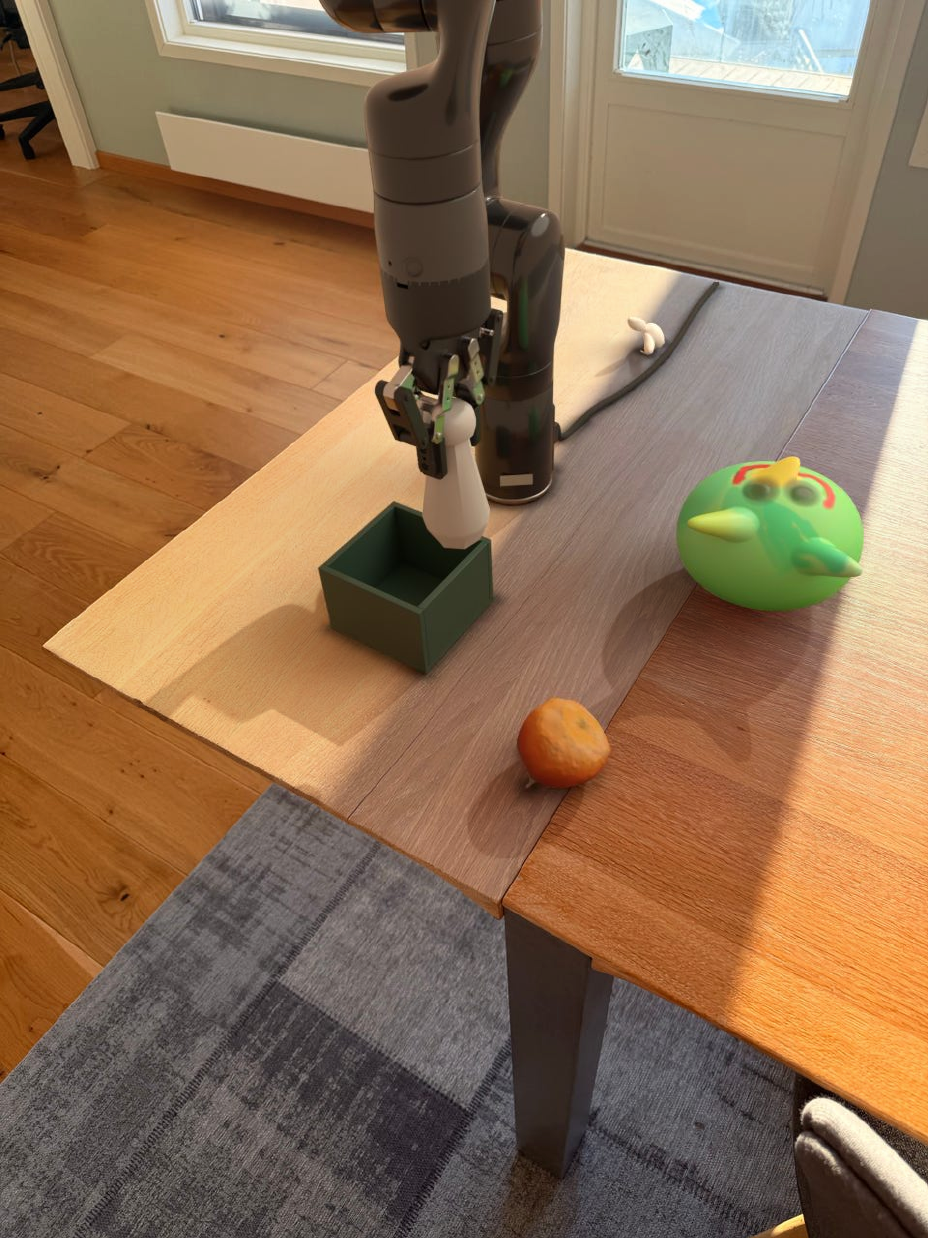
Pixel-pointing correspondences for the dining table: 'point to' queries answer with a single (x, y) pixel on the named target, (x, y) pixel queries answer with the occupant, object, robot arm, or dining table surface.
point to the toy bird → (770, 535)
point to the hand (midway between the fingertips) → (451, 457)
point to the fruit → (562, 744)
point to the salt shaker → (456, 485)
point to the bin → (406, 588)
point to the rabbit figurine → (648, 334)
